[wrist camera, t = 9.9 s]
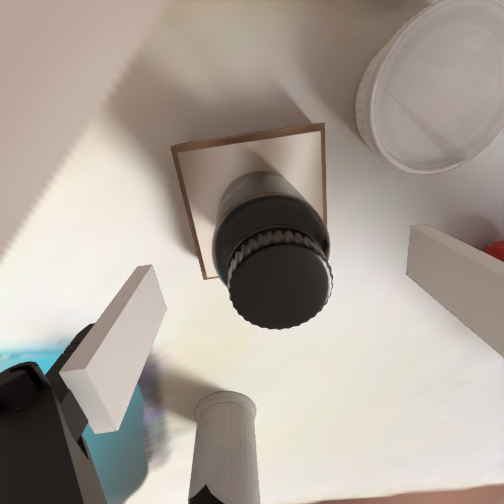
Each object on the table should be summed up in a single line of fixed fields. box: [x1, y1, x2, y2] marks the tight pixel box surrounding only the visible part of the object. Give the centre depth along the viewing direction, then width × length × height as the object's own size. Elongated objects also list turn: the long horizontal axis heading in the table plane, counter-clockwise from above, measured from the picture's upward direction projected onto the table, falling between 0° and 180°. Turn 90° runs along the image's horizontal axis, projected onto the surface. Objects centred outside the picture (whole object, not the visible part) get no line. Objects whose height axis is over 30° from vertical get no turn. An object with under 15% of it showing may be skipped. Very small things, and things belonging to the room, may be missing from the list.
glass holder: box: [188, 392, 260, 504], centre depth 33 cm, size 9×14×15 cm, turn 147°
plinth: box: [171, 123, 327, 280], centre depth 25 cm, size 12×12×4 cm
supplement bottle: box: [212, 171, 333, 330], centre depth 18 cm, size 7×7×12 cm
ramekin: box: [355, 0, 504, 175], centre depth 22 cm, size 11×11×5 cm
